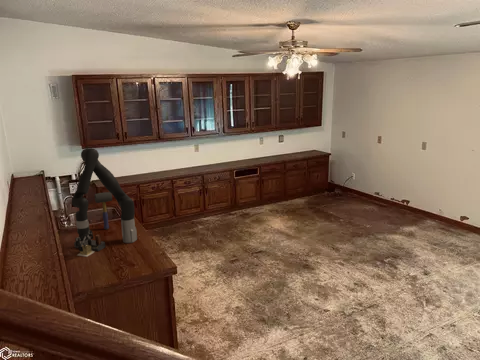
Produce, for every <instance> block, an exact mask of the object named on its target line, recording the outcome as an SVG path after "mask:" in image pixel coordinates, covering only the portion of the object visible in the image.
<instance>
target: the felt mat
mask: <svg viewBox="0 0 480 360" xmlns="http://www.w3.org/2000/svg"><path fill="white" fill-rule="evenodd" d="M95 252H96V251H94V250H92V252H91V253H90V254H88V255H85V254H80V252H79V253H78V254H77V257H78V256H79V257H86V258H88V257H89V256H91V255H92V254H94V253H95Z"/></svg>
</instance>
